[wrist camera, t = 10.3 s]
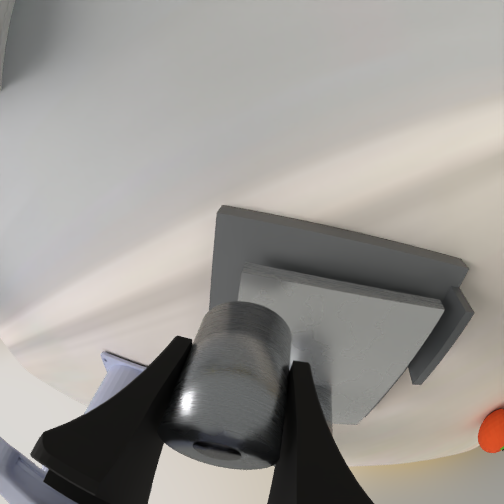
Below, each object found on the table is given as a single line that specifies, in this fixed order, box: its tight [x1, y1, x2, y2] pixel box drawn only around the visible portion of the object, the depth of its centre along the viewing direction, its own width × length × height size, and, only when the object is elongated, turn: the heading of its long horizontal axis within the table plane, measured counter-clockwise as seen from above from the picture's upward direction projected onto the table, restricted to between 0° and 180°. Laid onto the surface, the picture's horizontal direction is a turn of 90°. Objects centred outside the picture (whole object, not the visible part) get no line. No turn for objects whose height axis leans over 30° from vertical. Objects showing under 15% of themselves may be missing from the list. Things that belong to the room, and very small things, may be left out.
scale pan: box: [238, 262, 445, 425], centre depth 18 cm, size 14×12×2 cm
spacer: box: [158, 301, 292, 470], centre depth 10 cm, size 4×4×6 cm
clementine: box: [478, 409, 504, 453], centre depth 21 cm, size 8×7×7 cm
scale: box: [209, 205, 474, 417], centre depth 19 cm, size 18×16×4 cm
